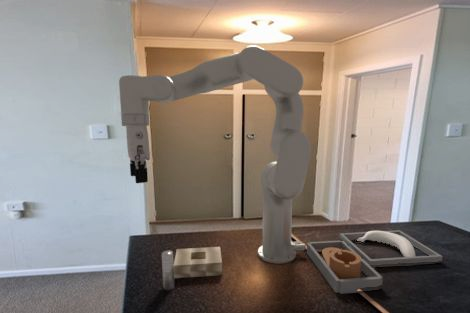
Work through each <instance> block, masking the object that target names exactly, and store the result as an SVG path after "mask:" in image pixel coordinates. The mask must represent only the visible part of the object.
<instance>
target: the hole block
mask: <svg viewBox="0 0 470 313" xmlns="http://www.w3.org/2000/svg"><path fill="white" fill-rule="evenodd" d="M221 250H222V249H221V246H209V247H207V246H206V247H191V248H176V252H175V255H174V256H175V257H174V260H173V264H174V279H181V278H184V279H185V278H195V277H196V278H197V277H198V278H199V277H211V276H214V277H215V276H223V260H222V252H221Z"/></svg>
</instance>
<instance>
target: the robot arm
mask: <svg viewBox="0 0 470 313" xmlns="http://www.w3.org/2000/svg"><path fill="white" fill-rule="evenodd" d="M252 80H254V81H256V82H258V83H260V85H263V87H264V90H265V92H266V94H267V96H269V97H270V98H271V99H272V101H273V103H274V106H275V117H274V118H275V119H274V125H273V128H272V134H271V138H270V145H269V147H270V151H271V153H272V154H273V155H274V156H276V157H277V161H270V162H269V163H267V164H266V165H265V166H264V167H263V169H262V171H261V175H260V176H261V177H260V178H261V179H260V181H261V182H260V183H261V184H260V185H261V191H262V194H261V195H262V239H261V240H262V244H261V245H260V246H259V247H258V249H257V256H258V257H259V258H260V259H261V260H262V261H264V262H267V263H270V264H276V265H277V264H278V265H279V264H287V263H291V262H292V261H293V260H295V258H296V254H297V253H296V252H297V251H303V250H305V251H306V250H307V246H306V244H305V243H300V242H299V241H298V240H297V241H293V240H292V225H293V224H292V221H293V219H292V218H293V200H294V199H296V198H297V197H298V196H299V195H300V194H301V193H302V191H303V189H304V187H305V183H306V180H307V179H306V178H307V173H308V169H309V164H310V160H311V154H312V145H311V141H310V139H309V137H308V135H307V134H305V133H304V132H302V127H303V120H304V112H305V111H304V103H303V100H302V97H301V95H300V91H301V90H302V88H303V85H304V77H303V75H302V73H301V71H300V70H299V69H298V68H297V67H296V66H294V65H292V64H291V63H289V62H287V61H285V60H284V59H282V58H280V57H279V56H277V55H275V54H273V53H272V52H271V51H268V50H266V49H264V48H263V47H260V46H258V45H248V46H246V47H244V48H242V50H241V51H239V52H236V53H233V54H229V55H227V56H221V57H217V58H214V59H209V60H206V61H203V62H201V63H199V64H197V66H195V67H193V68H191V69H189V70H187V71H184V72H181V73H178V74H174V75H171V76H167V75H164V74H153V75H152V74H151V75H146V76H144V75H143V76H141V75H132V74H131V75H129V74H128V75H123V76H121V77H120V78H119V80H118V85H119V86H118V87H119V99H120V100H119V101H120V117H121V119H120V120H121V126H122V127H125V130H126V131H125V132H126V146H127V147H126V148H127V154H128V158H129V159H130V160H129V161H130V163H129V169H130V170H129V171H130V176H131V177H135V184H144V183H148V181H149V179H148V166H147V161H149V160H151V152H150V143H149V142H150V141H149V131H148V128H147V126H149V127H150V109H149V108H150V107H149V102H155V103H156V102H157V103H160V104H168V103H172V102H175V101H178V100H183V99H185V98H189V97H193V96H196V95H200V94H206V93H211V92H214V91H218V90H220V89H224V88H228V87H231V86H235V85H239V84H242V83H245V82H249V81H252Z"/></svg>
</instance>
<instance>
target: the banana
mask: <svg viewBox="0 0 470 313" xmlns="http://www.w3.org/2000/svg"><path fill="white" fill-rule="evenodd" d="M385 231H386V230H369V231H366V232H367V233H366V234H365V235H364V236H363V237H361V238H358V239H357V241H361V242H363V243H364V242H365V241H366V240H367V241H371V242H375V241H377V242H376V243H381V242H382V243H381V244H385V243H386V245H389V244H390V246H391V247H394V246H395V247H394V248H396V247H397V248H396V249H398V250H400V253H401V255H402V257H413V256H416V251H415V248H414V247H413V246H412V244H411V243H410V242H409V241H408V240H407V239H406V238H404V237H402V236H400V235H397V234H394V233H390V232H385ZM361 242H360V243H361Z"/></svg>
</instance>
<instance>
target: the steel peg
mask: <svg viewBox="0 0 470 313" xmlns="http://www.w3.org/2000/svg"><path fill="white" fill-rule="evenodd" d="M161 266H162V285H163V286H162V288H163V290H166V291H171V290H173V289H175V278H174V252H173V251H172V250H164V251H163V252H161Z"/></svg>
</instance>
